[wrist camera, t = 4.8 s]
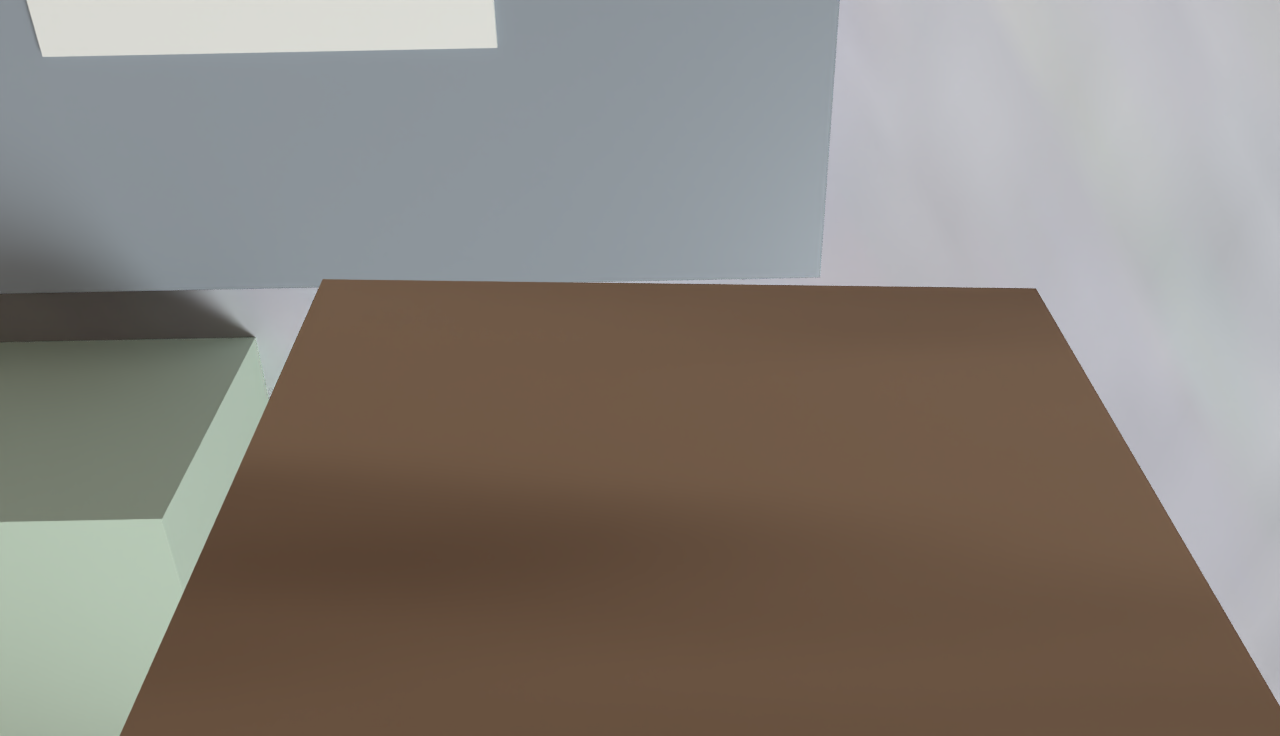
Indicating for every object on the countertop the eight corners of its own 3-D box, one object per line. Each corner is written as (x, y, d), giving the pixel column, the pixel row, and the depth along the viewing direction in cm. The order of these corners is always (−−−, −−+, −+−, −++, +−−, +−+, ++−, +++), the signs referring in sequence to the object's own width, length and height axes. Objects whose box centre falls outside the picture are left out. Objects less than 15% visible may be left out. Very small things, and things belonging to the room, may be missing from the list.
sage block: (304, 555, 23) (233, 763, 19) (48, 560, 23) (-81, 769, 19) (256, 335, 21) (162, 519, 16) (-33, 340, 21) (-202, 526, 16)
